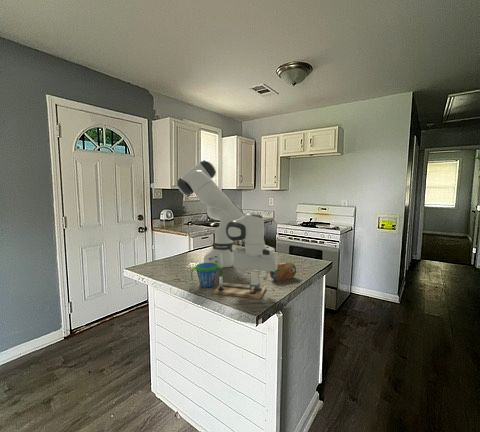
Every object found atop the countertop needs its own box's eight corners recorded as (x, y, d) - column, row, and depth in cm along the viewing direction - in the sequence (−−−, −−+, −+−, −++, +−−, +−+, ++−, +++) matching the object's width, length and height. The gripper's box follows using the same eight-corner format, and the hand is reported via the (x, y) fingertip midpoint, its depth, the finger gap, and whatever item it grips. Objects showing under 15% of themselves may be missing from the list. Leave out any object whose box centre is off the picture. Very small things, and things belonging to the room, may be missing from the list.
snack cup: (190, 290, 126) (189, 268, 125) (192, 282, 137) (191, 263, 136) (223, 288, 128) (223, 267, 127) (222, 281, 138) (222, 261, 137)
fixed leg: (218, 290, 122) (218, 277, 122) (220, 288, 124) (219, 276, 123) (222, 290, 122) (221, 278, 121) (223, 289, 123) (223, 276, 123)
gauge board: (212, 293, 122) (212, 289, 121) (222, 284, 133) (222, 280, 133) (260, 298, 115) (260, 294, 114) (266, 289, 126) (266, 285, 126)
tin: (271, 282, 136) (271, 265, 135) (268, 280, 139) (268, 264, 138) (296, 277, 142) (296, 262, 141) (293, 276, 145) (293, 260, 144)
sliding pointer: (247, 292, 118) (247, 273, 118) (252, 286, 125) (251, 269, 124) (256, 293, 117) (256, 274, 116) (260, 287, 124) (260, 270, 123)
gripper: (230, 249, 121) (231, 279, 122) (275, 251, 115) (275, 283, 116) (235, 246, 127) (235, 275, 128) (278, 248, 121) (278, 278, 122)
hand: (255, 279), depth 122 cm, fingers open, 8 cm apart
